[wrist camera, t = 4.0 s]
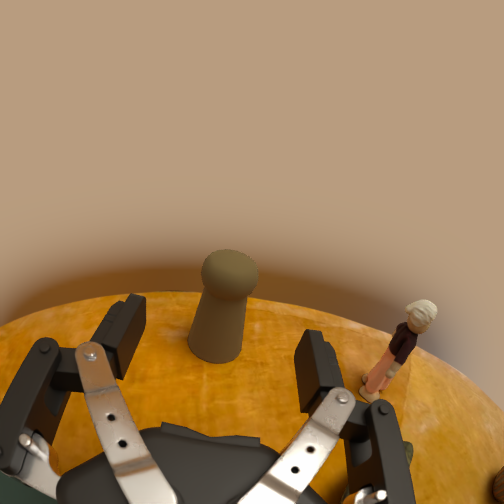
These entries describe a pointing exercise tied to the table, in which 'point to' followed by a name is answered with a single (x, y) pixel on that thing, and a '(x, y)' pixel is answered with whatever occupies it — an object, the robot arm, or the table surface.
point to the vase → (499, 486)
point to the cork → (222, 306)
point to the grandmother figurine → (398, 348)
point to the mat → (21, 493)
